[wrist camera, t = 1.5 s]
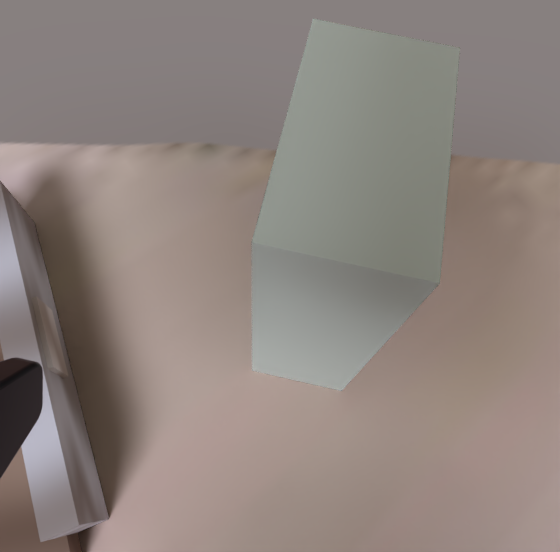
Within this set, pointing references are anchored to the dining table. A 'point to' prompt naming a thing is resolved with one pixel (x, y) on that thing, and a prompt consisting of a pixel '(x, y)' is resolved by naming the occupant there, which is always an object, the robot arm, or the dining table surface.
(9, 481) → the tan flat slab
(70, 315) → the dining table surface
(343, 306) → the carton
